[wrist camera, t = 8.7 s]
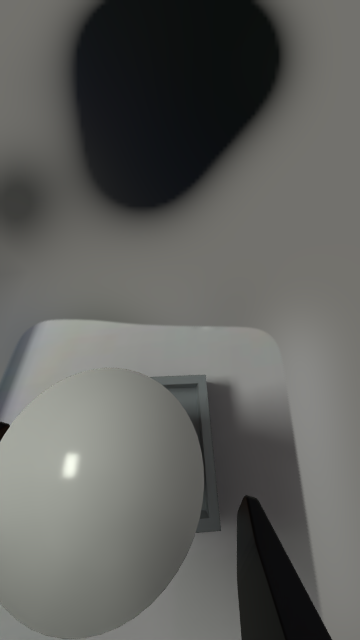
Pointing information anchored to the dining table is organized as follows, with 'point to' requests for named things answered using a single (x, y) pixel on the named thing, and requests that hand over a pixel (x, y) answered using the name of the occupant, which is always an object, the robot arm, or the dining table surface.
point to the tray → (196, 405)
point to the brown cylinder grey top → (96, 502)
